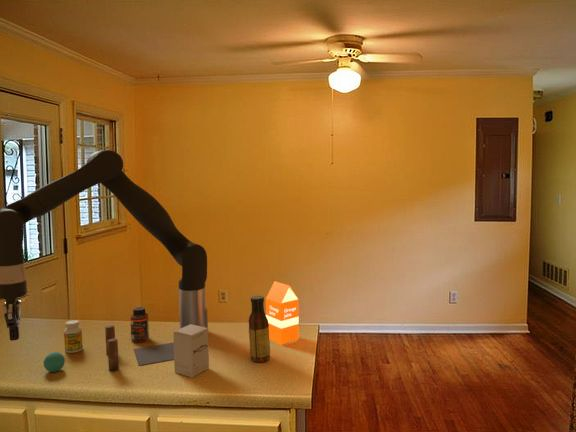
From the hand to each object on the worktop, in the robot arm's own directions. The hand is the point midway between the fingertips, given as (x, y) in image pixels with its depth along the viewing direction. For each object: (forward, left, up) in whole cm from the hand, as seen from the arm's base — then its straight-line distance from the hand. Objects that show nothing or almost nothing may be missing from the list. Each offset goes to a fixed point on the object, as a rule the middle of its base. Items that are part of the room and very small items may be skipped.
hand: (14, 339), depth 131 cm
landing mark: (-40, 0, -11) cm, 41 cm away
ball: (-10, 0, -9) cm, 13 cm away
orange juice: (-81, +6, -12) cm, 82 cm away
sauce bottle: (-68, +18, -12) cm, 71 cm away
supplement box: (-47, +17, -12) cm, 51 cm away
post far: (-26, -6, -11) cm, 29 cm away
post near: (-26, +6, -11) cm, 29 cm away
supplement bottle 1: (-15, -15, -12) cm, 24 cm away
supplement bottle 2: (-36, -15, -12) cm, 40 cm away
